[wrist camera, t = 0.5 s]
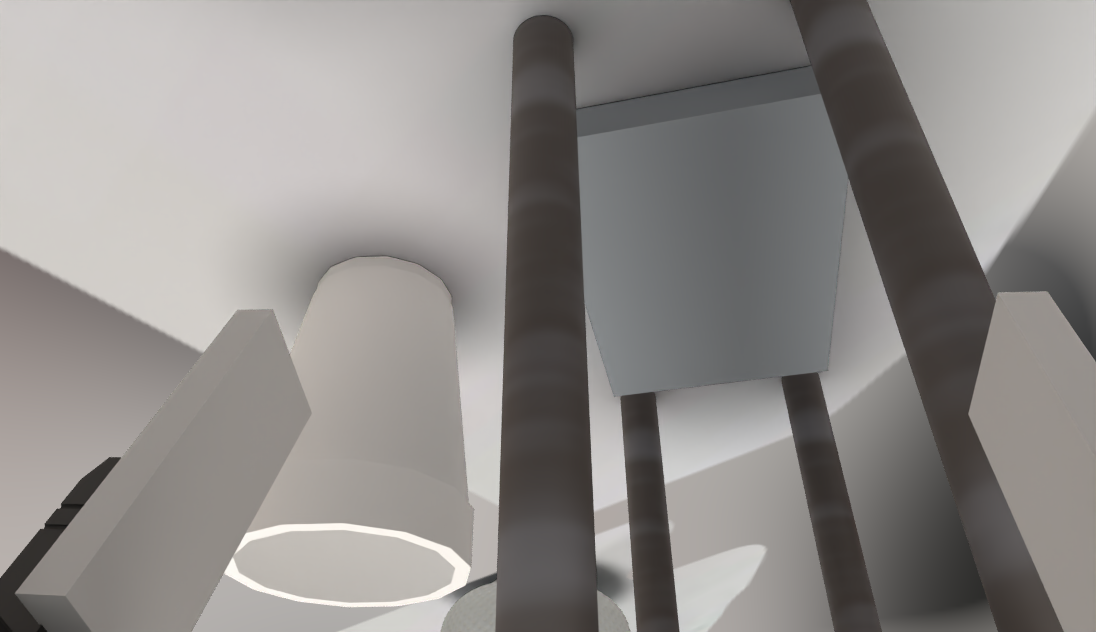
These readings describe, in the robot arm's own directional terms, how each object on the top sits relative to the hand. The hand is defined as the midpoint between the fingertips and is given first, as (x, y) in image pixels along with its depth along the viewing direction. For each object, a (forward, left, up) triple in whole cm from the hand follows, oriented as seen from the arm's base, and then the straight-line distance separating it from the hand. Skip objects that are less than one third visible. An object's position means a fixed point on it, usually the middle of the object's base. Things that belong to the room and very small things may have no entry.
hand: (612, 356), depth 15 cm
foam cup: (+15, -13, -15) cm, 25 cm away
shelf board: (+15, +2, -15) cm, 21 cm away
